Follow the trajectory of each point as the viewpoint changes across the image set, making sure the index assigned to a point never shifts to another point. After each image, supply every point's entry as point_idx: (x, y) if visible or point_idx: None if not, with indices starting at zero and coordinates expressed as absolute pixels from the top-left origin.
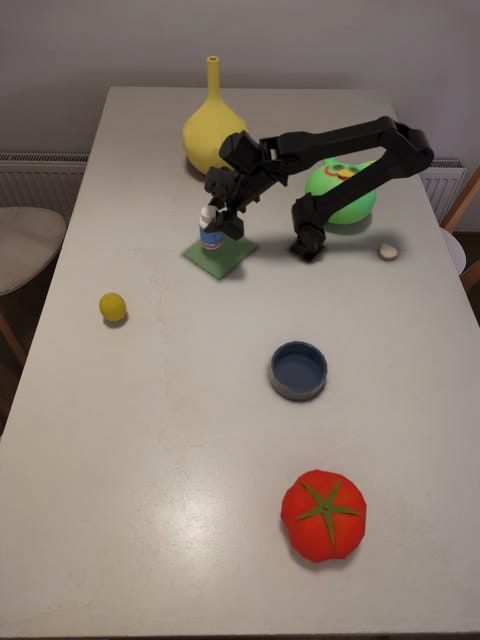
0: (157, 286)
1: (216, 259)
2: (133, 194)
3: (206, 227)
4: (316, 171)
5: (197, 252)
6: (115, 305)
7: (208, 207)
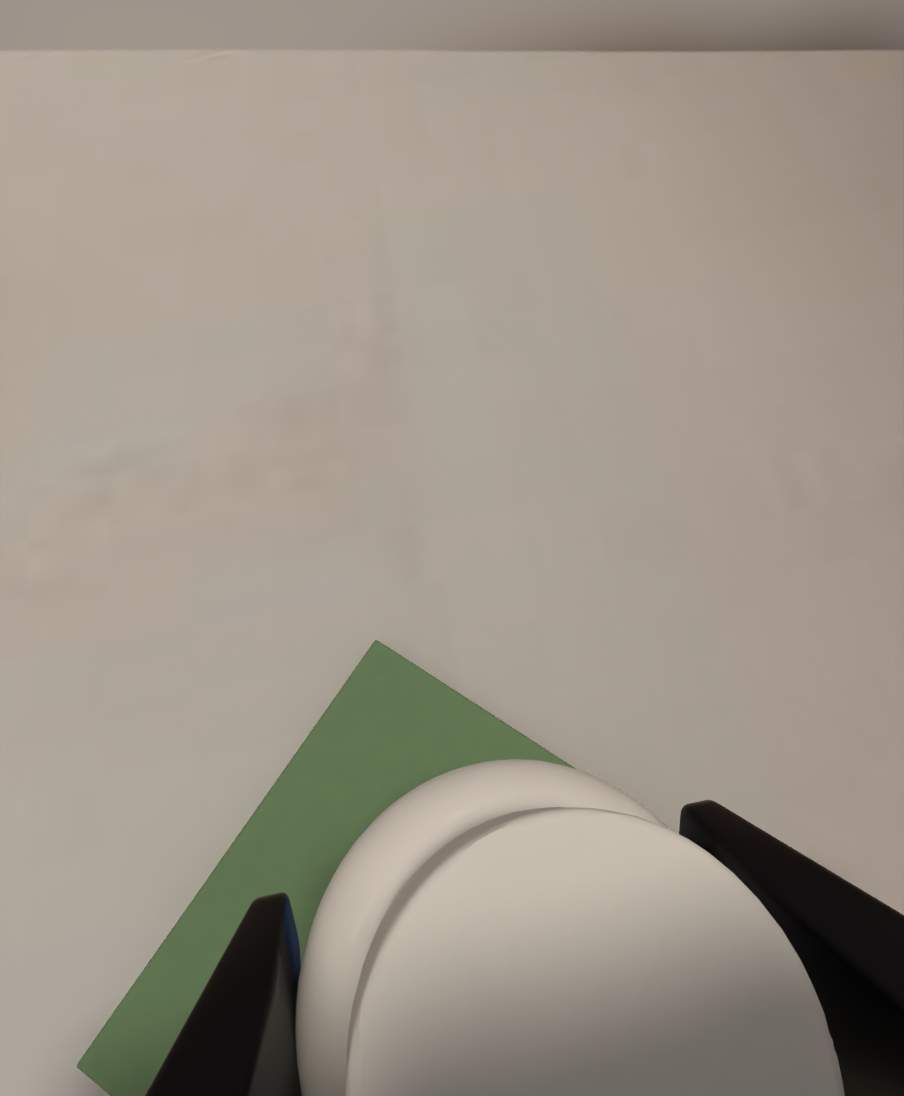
0: (46, 519)
1: None
2: (842, 243)
3: (225, 997)
4: None
5: (406, 762)
6: None
7: (732, 996)
